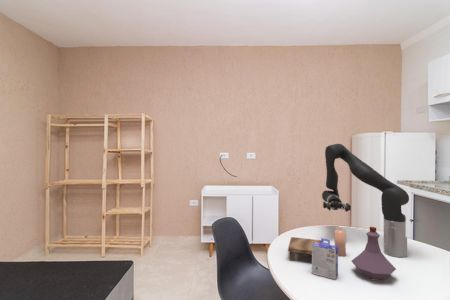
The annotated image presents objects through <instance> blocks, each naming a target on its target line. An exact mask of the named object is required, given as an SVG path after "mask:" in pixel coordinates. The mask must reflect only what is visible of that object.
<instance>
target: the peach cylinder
mask: <svg viewBox="0 0 450 300" xmlns="http://www.w3.org/2000/svg"><path fill="white" fill-rule="evenodd" d="M346 232H347V231H346V230H345V229H342V228H341V229H340V228H335V229H334V246H338V257H346V255H347V253H346V251H347V248H346V244H347V241H346V240H347V236H346V235H347V233H346Z"/></svg>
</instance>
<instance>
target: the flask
mask: <svg viewBox="0 0 450 300" xmlns="http://www.w3.org/2000/svg"><path fill="white" fill-rule="evenodd" d="M365 235H366V236H367V241H366V245H365V247H364V250H362V251H361V253H359V254H358V255H357V256H355V257H354V258H353V259H352V260H351V263H352V264H353V265H354V266H355V268H356V269H357V270H358V272H359V273H360V274H361V275H362V276H363V277H364V278H366V279H370V280H372V281H384V280H386V279H387V278H388V277H389V276H391V275H392V274H393V273H394V272H396V270H397V268H396V267H395V266H394V265H393V264H392V263H391V262H390V260H388V259H387V258H386V257H385V255H384V254H383V253H382V250H381V247H380V244H379V238H380V234H379V233H378V232H377V227H374V226H369V231H367V232H366V233H365Z"/></svg>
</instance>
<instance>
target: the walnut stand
mask: <svg viewBox="0 0 450 300" xmlns="http://www.w3.org/2000/svg"><path fill="white" fill-rule="evenodd" d="M315 242H316V243H321V239H320V240H319V239H311V238H305V237H295V236H294V237H293V236H291V237H290V240H289V245H288V248H287V251H288V252H289V253H288V254H289V256H288V257H289V261H292V262H294V261H295V253H299V254H306V255H312V245H313V244H314V243H315ZM322 242H324V241H322Z"/></svg>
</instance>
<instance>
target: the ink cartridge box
mask: <svg viewBox="0 0 450 300" xmlns="http://www.w3.org/2000/svg"><path fill="white" fill-rule="evenodd" d="M320 240H321V243H316V242H315V243H314V244H313V245H312V254H311V274H313V275H316V276H320V277H324V278H329V279H332V280H337V277H338V276H339V256H338V246H335V244H334V245H333V244H330V243H331V241H330V239H328V238H327V239H326V238H323V237H321V239H320ZM322 241H323V242H322ZM324 241H325V242H324Z"/></svg>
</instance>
